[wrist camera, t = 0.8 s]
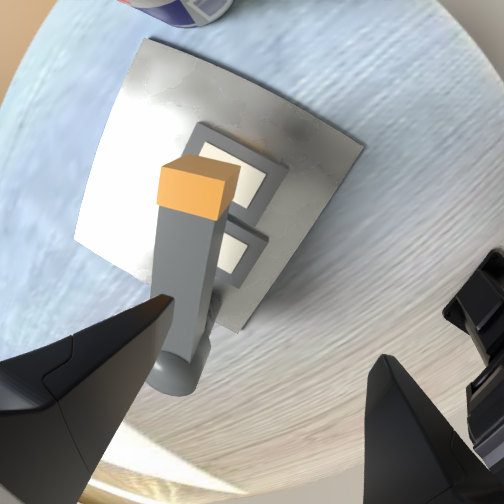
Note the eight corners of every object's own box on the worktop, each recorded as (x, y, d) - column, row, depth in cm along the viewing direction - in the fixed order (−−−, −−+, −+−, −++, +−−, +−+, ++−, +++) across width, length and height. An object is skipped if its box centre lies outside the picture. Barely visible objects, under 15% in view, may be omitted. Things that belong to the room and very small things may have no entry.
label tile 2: (269, 239, 20) (268, 243, 20) (240, 285, 22) (238, 290, 22) (186, 193, 20) (183, 196, 19) (164, 243, 22) (160, 246, 21)
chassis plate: (362, 146, 17) (378, 157, 13) (236, 333, 25) (224, 373, 21) (146, 38, 16) (110, 27, 12) (76, 240, 23) (43, 265, 20)
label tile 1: (288, 169, 18) (288, 171, 18) (256, 224, 20) (254, 227, 20) (199, 121, 18) (196, 122, 17) (173, 178, 20) (169, 180, 19)
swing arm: (206, 366, 20) (193, 403, 17) (156, 349, 21) (137, 383, 18) (251, 168, 14) (237, 185, 12) (178, 151, 15) (148, 164, 12)
